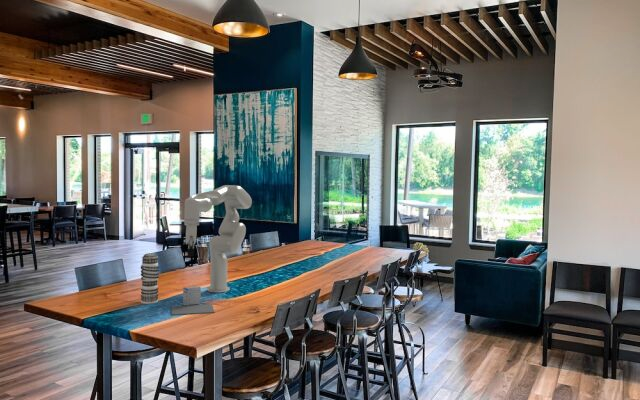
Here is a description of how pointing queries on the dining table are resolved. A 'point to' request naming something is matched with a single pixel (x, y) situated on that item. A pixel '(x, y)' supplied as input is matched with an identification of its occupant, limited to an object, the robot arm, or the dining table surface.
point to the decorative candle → (149, 278)
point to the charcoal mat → (192, 309)
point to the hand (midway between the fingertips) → (191, 254)
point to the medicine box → (191, 295)
